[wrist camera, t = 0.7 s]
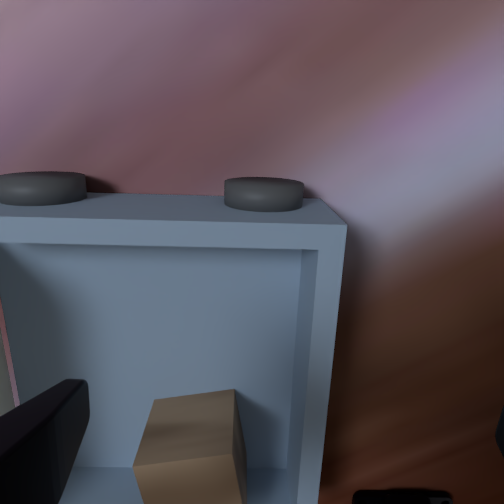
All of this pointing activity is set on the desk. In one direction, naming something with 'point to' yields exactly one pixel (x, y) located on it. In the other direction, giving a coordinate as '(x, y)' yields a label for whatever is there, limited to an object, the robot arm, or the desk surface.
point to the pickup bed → (176, 317)
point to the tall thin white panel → (5, 383)
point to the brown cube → (193, 451)
